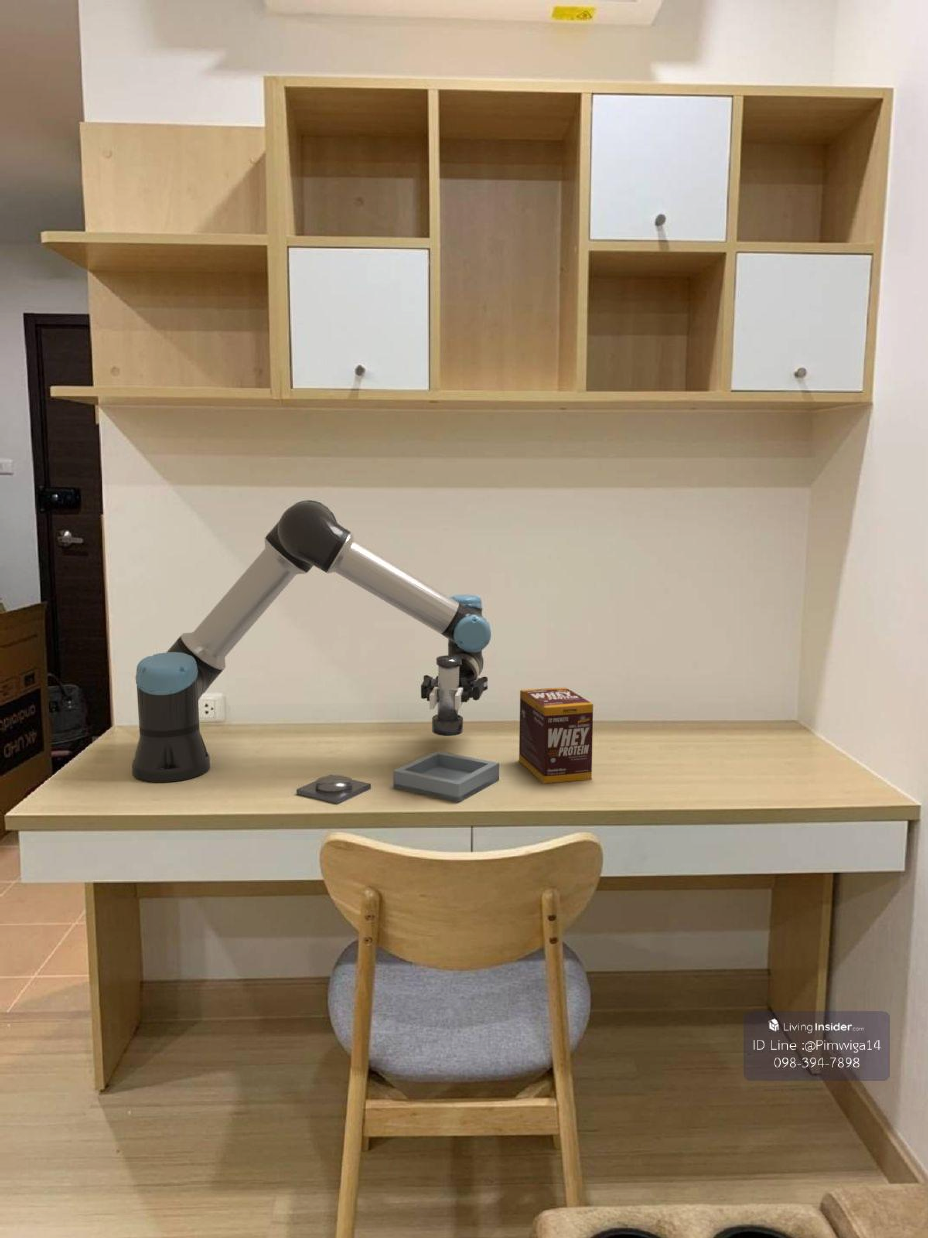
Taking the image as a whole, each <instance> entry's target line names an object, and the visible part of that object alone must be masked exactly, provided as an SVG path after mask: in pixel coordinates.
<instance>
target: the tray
mask: <svg viewBox="0 0 928 1238" xmlns="http://www.w3.org/2000/svg"><path fill="white" fill-rule="evenodd" d="M499 780H500V762H496V761H491V760H486V759H480V758H475V757H470V756H464V755H461V754H460V755H459V754H453V753H449V752H443V751H439V750H435V751H433V752H431V753H429V754H426V755H424V756H422V757H420V758H418V759H415V760H413V761H411V762H409V763H406V764H405V765H403V766H400V767H398V768H396V769H393V771H392V785H393V786H392V787H393V789H396V790H400V791H405V792H409V793H413V792H414V794H419V795H423V796H427V795H429V796H428V797H431V796H432V797H431V798H437V799H440V800H445V799H447V800H446V801H449V800H450V801H449V802H454V803H458V802H459V803H461V802H462V800H463V801H464V799H465V800H466V799H468V798H470V797H472V796H473V795H475V794H477V793H479V792H480V791H482V790H484V789H486V788H488V787H489V786H491V785H493V784H494V783H496V782H498V781H499ZM471 795H472V796H471ZM469 796H470V797H469Z"/></svg>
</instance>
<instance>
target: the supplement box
mask: <svg viewBox="0 0 928 1238" xmlns="http://www.w3.org/2000/svg"><path fill="white" fill-rule="evenodd" d="M519 691H520V692H519V735H518V736H519V743H518V746H519V749H518V750H519V751H518V761H519V762H520V763H521V764H522V765H523V766H524V767H525V768H526V769H527V768H528V769H527V770H528V771H529V772H530V773H532V774H533V775H534V776H535V777H536V778H537V779H538V780H539V781H540V782H541V781H542V782H541V783H543V784H544V785H545V784H553V783H554V784H556V783H564V782H573V781H574V782H575V781H586V780H592V775H593V774H592V772H593V735H594V734H593V733H594V732H593V730H594V729H593V727H594V724H593V723H594V721H593V720H594V703H593V702H590V701H588V700H587V699H586V698H584V697H582V696H581V695H579V694H577V693H576V692H575V691H572V690H570V688H568V687H549V688H534V689H520V690H519Z"/></svg>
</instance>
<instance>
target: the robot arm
mask: <svg viewBox="0 0 928 1238" xmlns="http://www.w3.org/2000/svg"><path fill="white" fill-rule="evenodd" d="M272 527H273V528H271V530H270V531H269V532H268V533H267V534H266V536H265V537H264V549H263V550H262V552H260V554H258V556H257V557H256V558H255V560H253V562H252V563H251V565H249V566H248V568H246V570H245V571H244V573H242V575H241V576H240V577H239V578H238V580H237V581H236V582H235V583H234V584H233V585H232V587H230V589H228V591H227V592H226V594H225V595H223V597H222V598H221V599H220V600H219V602H218V603H217V604H216V605H215V607H213V609H212V610H211V611H210V612H209V613H208V615H206V617H205V618H204V619H203V620H202V621H201V622H200V624H199V625H198V626H197V627H196V628H195V629H194V631H192V632H184V633H183V632H182V633H181V635H180V636H179V637H178V638H177V639H176V640H175V642H174V643H173V644H172V645H171V647H170V648H168V650H167V651H166V652H160V653H155V654H153V655H148V656H146V657H143V658H142V659H141V660H140V661H139V662H138V664H137V666H136V669H135V670H136V674H135V684H136V693H137V694H136V695H137V697H136V698H137V710H138V711H137V712H138V713H137V714H138V727H139V729H138V730H139V737H138V738H139V739H138V742H137V746H136V750H135V754H134V758H133V760H132V763H131V767H132V768H131V769H132V771H131V773H132V776H133V777H134V778H135V779H138V780H141V781H143V782H151V783H153V782H154V783H167V782H168V783H169V782H180V781H184V780H190V779H193V778H196V777H199V776H201V775H203V774H206V773H207V772H208V771H210V769H211V758H210V754H209V753H208V750H207V747H206V745H205V741H204V738H203V737H202V734H201V730H200V728H201V727H200V710H199V709H200V708H199V700H200V699H201V697H202V695H204V694H205V693H206V691H207V690H208V689H209V687H210V686H211V685H212V684H213V683H214V682H215V681H216V679H217V678H218V677H219V675H221V674H222V672H223V671H224V670H225V669H226V667H227V666H226V657H227V655H228V654H229V653H231V651H232V650H233V649H234V648H235V646H236V645H237V644H238V643H239V642H240V641H241V640H242V638H243V637H244V636H245V635H247V634H246V633H248V632H249V630H250V629H251V628H252V627H253V626H254V624H255V623H256V622H257V621H258V620H259V618H260V617H262V615H263V614H264V612H265V611H266V610H267V609H269V607H270V605H272V603H273V602H274V601H275V600H276V599H277V598H278V596H280V594H281V593H282V592H283V591H284V589H285V588H286V587H287V586H288V585H289V584H290V583H291V582H292V581H293V579H294V578H295V576H297V575H304V574H308V573H309V572H310V571H311V569H312V568H313V567H315V568H317V569H319V570H321V571H322V572H324V573H326V574H332V573H336V574H337V575H339V576H341V577H343V578H344V579H347V580H348V581H349V582H351V583H352V584H355V585H356V586H358V587H360V588H361V589H364V590H365V591H367V592H368V593H371V594H372V595H374V596H375V597H377V598H379V599H380V600H382V601H384V602H386V603H387V604H389V605H391V606H393V607H394V608H396V609H397V610H399V611H401V612H402V613H405V614H406V615H407V616H410V618H413V619H414V620H416V621H418V622H420V623H421V624H423V625H425V626H427V627H428V628H430V629H432V630H434V631H435V632H437V633H438V634H440V635H442V637H445V638H446V639H447V655H450V656H457V657H460V658H461V659H462V662H461V665H460V666H459V689H458V691H457V693H456V695H455V710H458V711H459V710H460V709H461V708H462V707H461V706H462V704H463V703H468V701H469V700H470V699H472V700H474V701H478V700H479V701H480V698H481V697H482V695H483V693H484V692H485V691H487V690H488V687H489V685H488V683H489V681H488V679H489V677H487V676H481V677H479V676H480V675H481V673H482V671H483V669H484V656H483V650H484V649H485V648H486V647H487V646H488V645H489V644H490V641H491V638H492V631H491V626H490V622H488V621H487V619H486V618H485V617H483V609H484V608H483V607H482V606H483V605H482V604H483V603H482V598H481V597H480V596H479V595H476V594H454V595H452V596H448V595H447V594H446V593H443V592H442V591H440V590H438V589H437V588H435V587H433V586H432V585H430V584H429V583H426V582H425V581H423V580H422V579H420V578H418V577H417V576H415V575H414V574H411V573H410V572H408V571H407V570H405V569H404V568H402V567H400V566H398V565H397V564H395V563H394V562H392V561H390V560H388V559H387V558H385V557H384V556H382V555H380V554H378V553H377V552H375V551H373V550H371V549H370V548H368V547H366V546H365V545H363V544H361V542H358V541H357V540H356V539H354V534H353V532H352V531H350V530H348V529H347V528H345V527H344V526H342V525H341V524H339V523H338V521H337V518H336V516H335V515H334V513H333V512H332V511H331V509H329V507H328V506H326V505H325V504H323V503H322V502H320V501H317V500H313V499H312V500H311V499H306V500H301V501H299V502H296V503H294V504H293V505H291V506H290V507H288V508H287V509H286V510H285V511H284V512H283V513H282V515H281V517H280V519H279V520H278V521H277V522H276V524H275V525H274V526H272ZM420 699H423V700H425V699H426V701H427V702H429V710H435V709H436V708H435V707H437V705H438V675H436V677H435V678H433V676H430V675H427V674H425V675H423V682H422V683H421V685H420Z"/></svg>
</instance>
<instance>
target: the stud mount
mask: <svg viewBox="0 0 928 1238" xmlns="http://www.w3.org/2000/svg"><path fill="white" fill-rule="evenodd" d="M371 789H372V783H371V782H370V783H369V782H366V781H361V780H355V779H352V778H351V777H349V776H345V775H340V774H338V775H337V774H336V775H334V774H328V775H327V776H322V777H319V778H317V779H316V780H315V781H313V782H310V783H308V784H306V785H303V786H300V787H298V788H296V795H299V796H302V795H303V797H306V798H311V799H314V800H318V799H319V801H323V802H327V803H331V802H332V804H335V805H339V804H341V803H343V802H345V801H347V800H351V799H352V798H353V797H356V796H358V795H360V794H363V793H365V792H367V791H369V790H371Z"/></svg>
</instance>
